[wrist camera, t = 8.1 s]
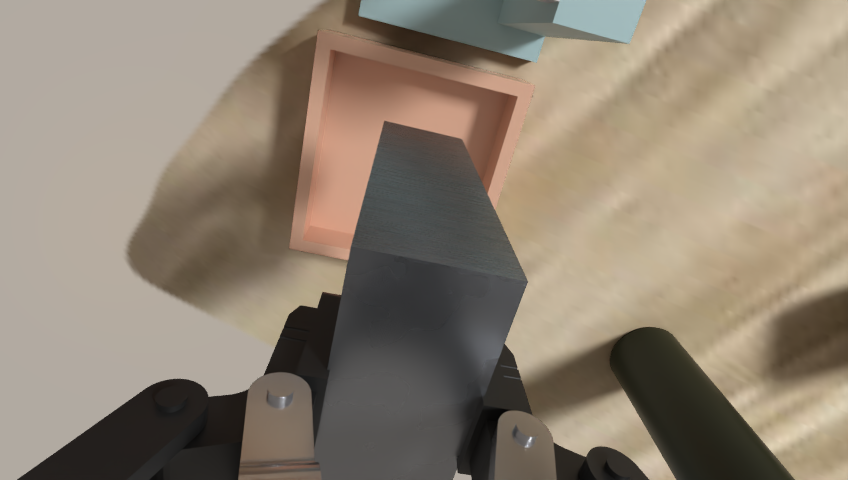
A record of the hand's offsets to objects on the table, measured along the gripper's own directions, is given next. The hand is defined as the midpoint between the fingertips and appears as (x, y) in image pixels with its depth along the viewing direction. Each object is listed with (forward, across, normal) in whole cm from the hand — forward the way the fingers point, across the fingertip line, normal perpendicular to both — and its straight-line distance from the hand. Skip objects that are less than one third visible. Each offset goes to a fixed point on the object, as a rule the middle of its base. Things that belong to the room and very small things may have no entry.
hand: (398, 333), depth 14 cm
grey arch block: (+10, 0, 0) cm, 10 cm away
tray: (+20, 0, 0) cm, 20 cm away
